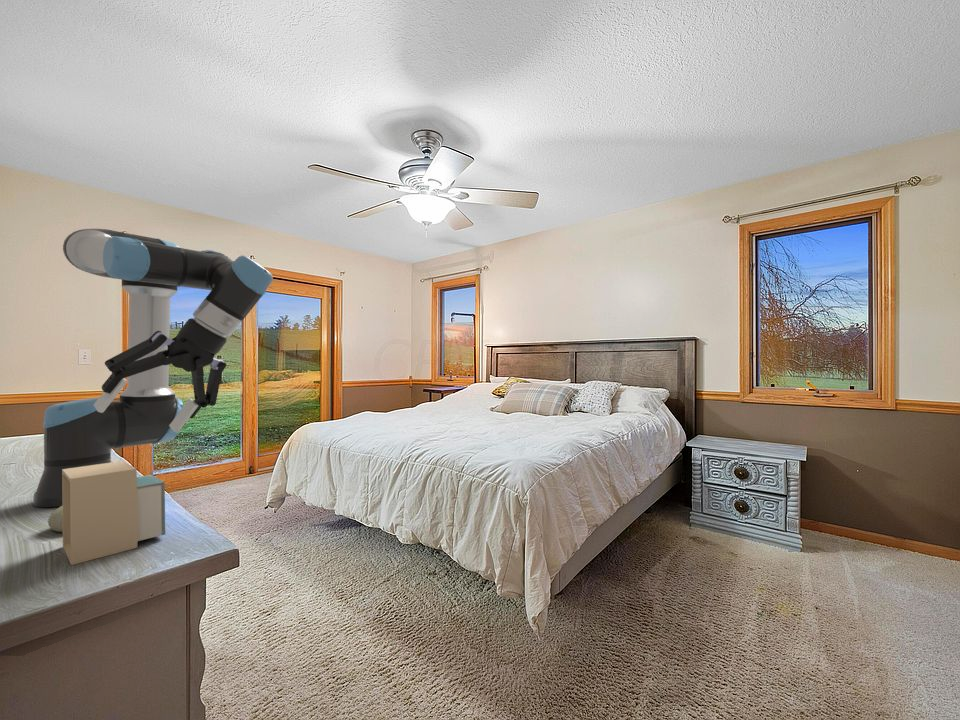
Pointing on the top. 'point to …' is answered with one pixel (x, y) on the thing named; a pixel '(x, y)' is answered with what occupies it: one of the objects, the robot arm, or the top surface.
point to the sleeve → (99, 510)
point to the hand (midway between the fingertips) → (138, 420)
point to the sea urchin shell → (56, 520)
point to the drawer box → (150, 507)
